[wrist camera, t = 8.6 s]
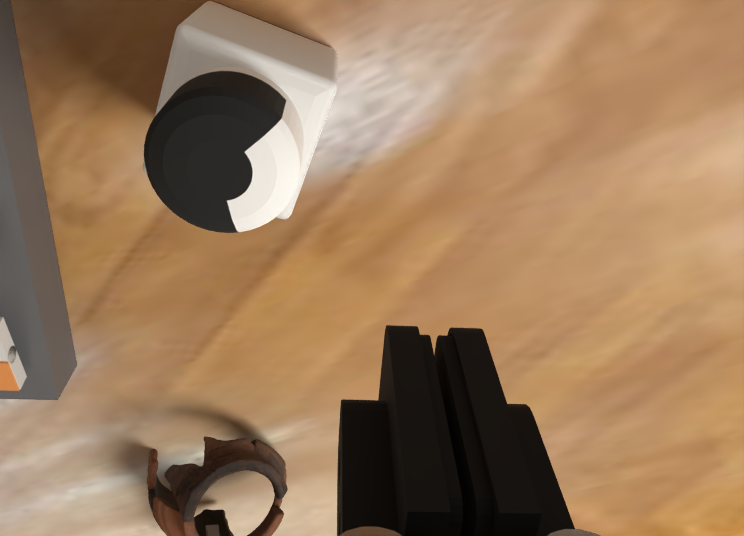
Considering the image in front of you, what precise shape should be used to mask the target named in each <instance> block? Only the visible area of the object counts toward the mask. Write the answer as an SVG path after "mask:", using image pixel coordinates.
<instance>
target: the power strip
mask: <svg viewBox="0 0 744 536" xmlns="http://www.w3.org/2000/svg"><path fill="white" fill-rule="evenodd" d="M0 317H3V318H4V320H5V323H6V325H7V328H8V330H9V333H10V335H11V338H12V340H13V343H14V345H15V348H16V350H17V353H18V355H19V358H20V360H21V363H22V365H23V368H24V371H25V373H26V376H27V377H26V379H25V381H24V383H23V386H22V388H21V390H19V391H6V390H0V399H35V400H58V399H59V397H60V395H61V393H62V391H63V390H64V388H65V386H66V384H67V382H68V381H69V379H70V377H71V375H72V373H73V371H74V370H75V368H76V366H77V362H76V357H75V351H74V346H73V340H72V335H71V329H70V324H69V319H68V313H67V308H66V302H65V297H64V291H63V286H62V280H61V275H60V270H59V264H58V259H57V253H56V248H55V242H54V237H53V231H52V226H51V221H50V215H49V210H48V204H47V199H46V193H45V188H44V182H43V177H42V172H41V166H40V161H39V155H38V150H37V144H36V139H35V133H34V128H33V123H32V117H31V112H30V106H29V101H28V95H27V90H26V84H25V79H24V74H23V68H22V63H21V57H20V52H19V46H18V41H17V35H16V30H15V25H14V19H13V14H12V8H11V3H10V0H0Z"/></svg>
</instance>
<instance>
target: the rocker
mask: <svg viewBox="0 0 744 536" xmlns="http://www.w3.org/2000/svg"><path fill="white" fill-rule="evenodd" d="M26 377H27V376H26V373H25V371H24V368H23V365H22V363H21V360H20V358H19V355H18V353H17V350H16V348H15V345H14V343H13V340H12V338H11V335H10V333H9V330H8V328H7V325H6V323H5V320H4V318H3V317H0V390H6V391H19V390H21V388H22V386H23V383H24V381H25V379H26Z"/></svg>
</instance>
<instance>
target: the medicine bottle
mask: <svg viewBox="0 0 744 536" xmlns="http://www.w3.org/2000/svg"><path fill="white" fill-rule="evenodd" d="M337 72H338V54H337V52H336V51H335V50H334V49H332V48H330V47H327V46H325V45H322V44H320V43H317V42H315V41H312V40H310V39H307V38H305V37H302V36H299V35H297V34H294V33H292V32H289V31H287V30H284V29H282V28H279V27H277V26H274V25H271V24H269V23H266V22H264V21H261V20H259V19H256V18H254V17H251V16H249V15H246V14H244V13H241V12H238V11H236V10H233V9H231V8H228V7H226V6H223V5H221V4H218V3H216V2H213V1H207V2H205V3H204V4H203V5H202V6H201V7H199V8H198V9H197V10H196V11H195V12H193V13H192V14H191V15H190V16H189V17H187V18H186V19H185V20H184V21H183V22H182V23H180V24H179V25H178V27H177V28H176V32H175V36H174V40H173V44H172V48H171V52H170V56H169V60H168V65H167V69H166V73H165V77H164V81H163V85H162V89H161V93H160V98H159V102H158V106H157V110H156V114H155V117H154V119H153V121H152V123H151V124H150V127H149V129H148V132H147V135H146V139H145V144H144V164H143V170H144V172H145V173H146V174H147V175H148V178H149V180H150V182H151V185H152V187H153V188H154V190H155V192H156V194H157V195H158V196H159V198H160V199H161V200H162V202H163V203H164V204H165V205H166V206H167V207H168V208H169V209H170V210H171V211H172V212H174V213H175V214H176V215H178V216H179V217H180V218H182V219H184V220H185V221H187V222H188V223H191V224H193V225H195V226H197V227H200V228H203V229H206V230H210V231H215V232H224V233H234V232H243V231H248V230H252V229H255V228H258V227H260V226H262V225H264V224H266V223H268V222H269V221H271V220H272V219H274V218H275V217H277V218H280V219H287V218H289V217H290V215H291V214H292V211H293V208H294V206H295V203H296V200H297V198H298V195H299V192H300V189H301V187H302V184H303V181H304V178H305V176H306V173H307V170H308V168H309V165H310V162H311V159H312V157H313V154H314V151H315V149H316V146H317V143H318V140H319V138H320V135H321V132H322V129H323V127H324V124H325V121H326V119H327V116H328V113H329V110H330V108H331V105H332V102H333V99H334V97H335V94H336V91H337Z"/></svg>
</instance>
